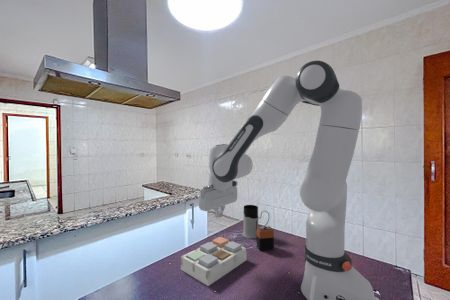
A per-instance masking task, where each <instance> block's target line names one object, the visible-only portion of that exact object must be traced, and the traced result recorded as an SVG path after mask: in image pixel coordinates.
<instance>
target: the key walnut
mask: <svg viewBox="0 0 450 300" xmlns="http://www.w3.org/2000/svg"><path fill="white" fill-rule="evenodd" d="M212 255H213V256H215V257H217V258H218V259H219V260H221V261H222V260H224V259H226V258H227V257H229V256H230V253H228V252H225V251H223V250H219V251H217V252H216V253H214V254H212Z"/></svg>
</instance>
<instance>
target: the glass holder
mask: <svg viewBox="0 0 450 300" xmlns="http://www.w3.org/2000/svg"><path fill="white" fill-rule="evenodd" d="M264 212H266V213H267V214H268V216H270V213H269V211H267V210H262V211H261V212H260V217H259V207H258V205H255V204H246V205H244V206H243V214H242V215H243V216H242V217H243V218H242V219H243V223H242V224H243V232H242V237H245V238H247V239H257V228H259V219H261V218H262V217H263V216H262V214H263V213H264ZM269 221H270V217H268V218H267V222H266V224H265V225H264V226H263V227H267V225H268V224H269Z"/></svg>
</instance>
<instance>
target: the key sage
mask: <svg viewBox="0 0 450 300" xmlns="http://www.w3.org/2000/svg"><path fill="white" fill-rule="evenodd" d="M203 256H205V254H203V253H200V252H198V251H194V252H192V253H190V254H188V255H186V257H187V258H189V259H190V260H192V261H194V262H195V261H197V260H198V259H199V258H201V257H203Z"/></svg>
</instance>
